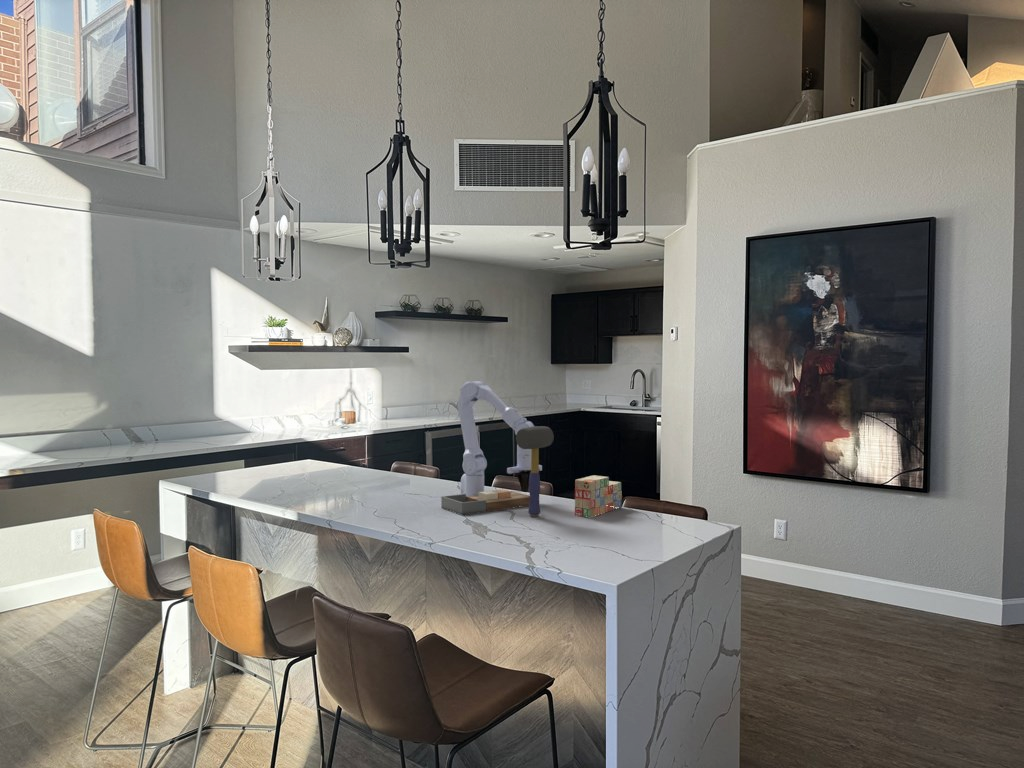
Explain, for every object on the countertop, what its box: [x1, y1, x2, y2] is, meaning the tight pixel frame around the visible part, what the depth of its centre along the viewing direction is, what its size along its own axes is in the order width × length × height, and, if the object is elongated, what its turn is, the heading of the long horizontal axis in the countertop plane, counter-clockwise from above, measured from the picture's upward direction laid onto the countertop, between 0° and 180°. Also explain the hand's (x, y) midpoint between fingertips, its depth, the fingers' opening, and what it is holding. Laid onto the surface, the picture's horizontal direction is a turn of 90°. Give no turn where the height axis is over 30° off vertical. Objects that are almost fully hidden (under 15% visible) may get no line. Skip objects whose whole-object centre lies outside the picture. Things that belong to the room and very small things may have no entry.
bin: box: [440, 493, 487, 515], centre depth 246 cm, size 14×10×4 cm
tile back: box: [492, 488, 512, 498], centre depth 255 cm, size 5×5×2 cm
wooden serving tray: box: [466, 490, 530, 512], centre depth 254 cm, size 14×20×3 cm
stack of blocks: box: [574, 474, 623, 518], centre depth 244 cm, size 21×6×12 cm, turn 143°
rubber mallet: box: [515, 425, 555, 518], centre depth 235 cm, size 12×8×30 cm, turn 137°
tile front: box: [478, 490, 498, 500], centre depth 251 cm, size 5×5×2 cm
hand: (524, 491), depth 261 cm, fingers closed
